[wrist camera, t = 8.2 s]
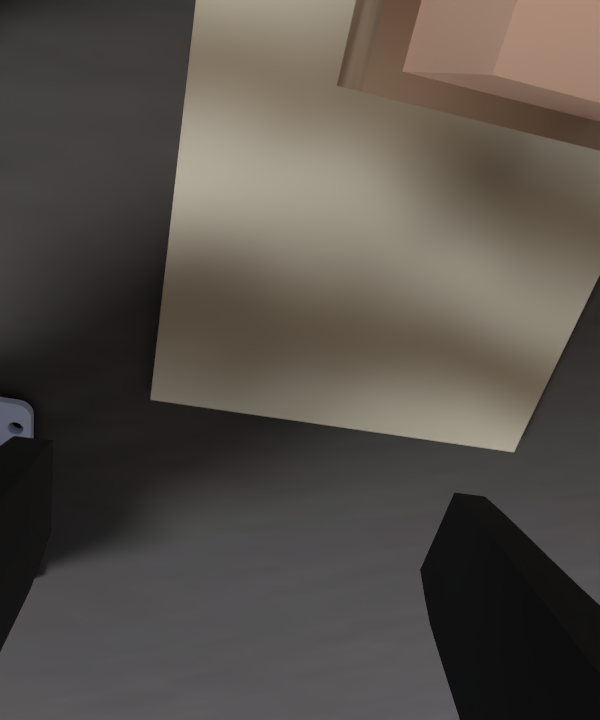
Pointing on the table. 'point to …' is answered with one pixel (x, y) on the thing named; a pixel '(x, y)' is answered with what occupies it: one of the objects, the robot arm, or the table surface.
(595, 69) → the clay block
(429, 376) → the birch board
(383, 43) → the walnut block
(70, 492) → the table surface
